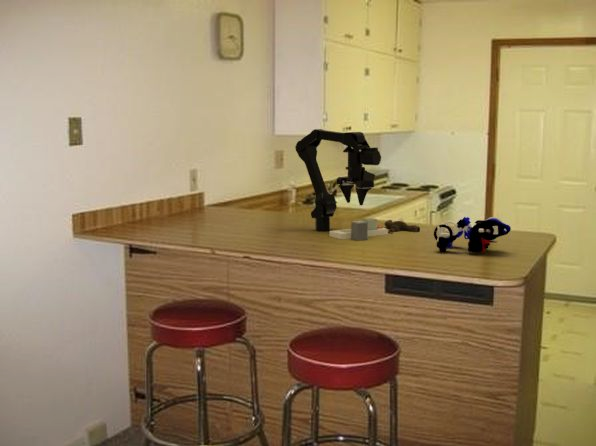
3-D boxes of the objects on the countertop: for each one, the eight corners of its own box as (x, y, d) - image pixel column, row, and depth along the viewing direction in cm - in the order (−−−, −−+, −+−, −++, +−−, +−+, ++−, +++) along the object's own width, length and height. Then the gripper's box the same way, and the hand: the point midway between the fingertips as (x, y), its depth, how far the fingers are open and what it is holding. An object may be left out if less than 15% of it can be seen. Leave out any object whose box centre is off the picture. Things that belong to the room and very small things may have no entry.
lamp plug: (361, 233, 273) (361, 218, 272) (370, 232, 275) (371, 217, 275) (367, 235, 270) (368, 220, 269) (377, 234, 272) (377, 219, 271)
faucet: (423, 232, 280) (405, 242, 269) (388, 226, 291) (368, 236, 280) (423, 221, 279) (405, 231, 268) (388, 216, 289) (368, 224, 278)
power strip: (340, 241, 262) (340, 232, 261) (329, 238, 269) (329, 229, 268) (387, 236, 272) (387, 227, 271) (376, 233, 279) (376, 224, 278)
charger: (351, 240, 262) (351, 221, 261) (360, 239, 264) (361, 220, 263) (357, 242, 258) (357, 222, 257) (367, 241, 260) (367, 221, 259)
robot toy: (442, 214, 252) (513, 216, 241) (442, 246, 254) (513, 249, 243) (431, 220, 238) (505, 222, 227) (431, 254, 240) (505, 258, 229)
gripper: (385, 165, 264) (385, 205, 266) (359, 162, 280) (359, 200, 283) (361, 166, 259) (361, 207, 261) (335, 163, 275) (335, 202, 278)
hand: (354, 204), depth 271 cm, fingers open, 9 cm apart
